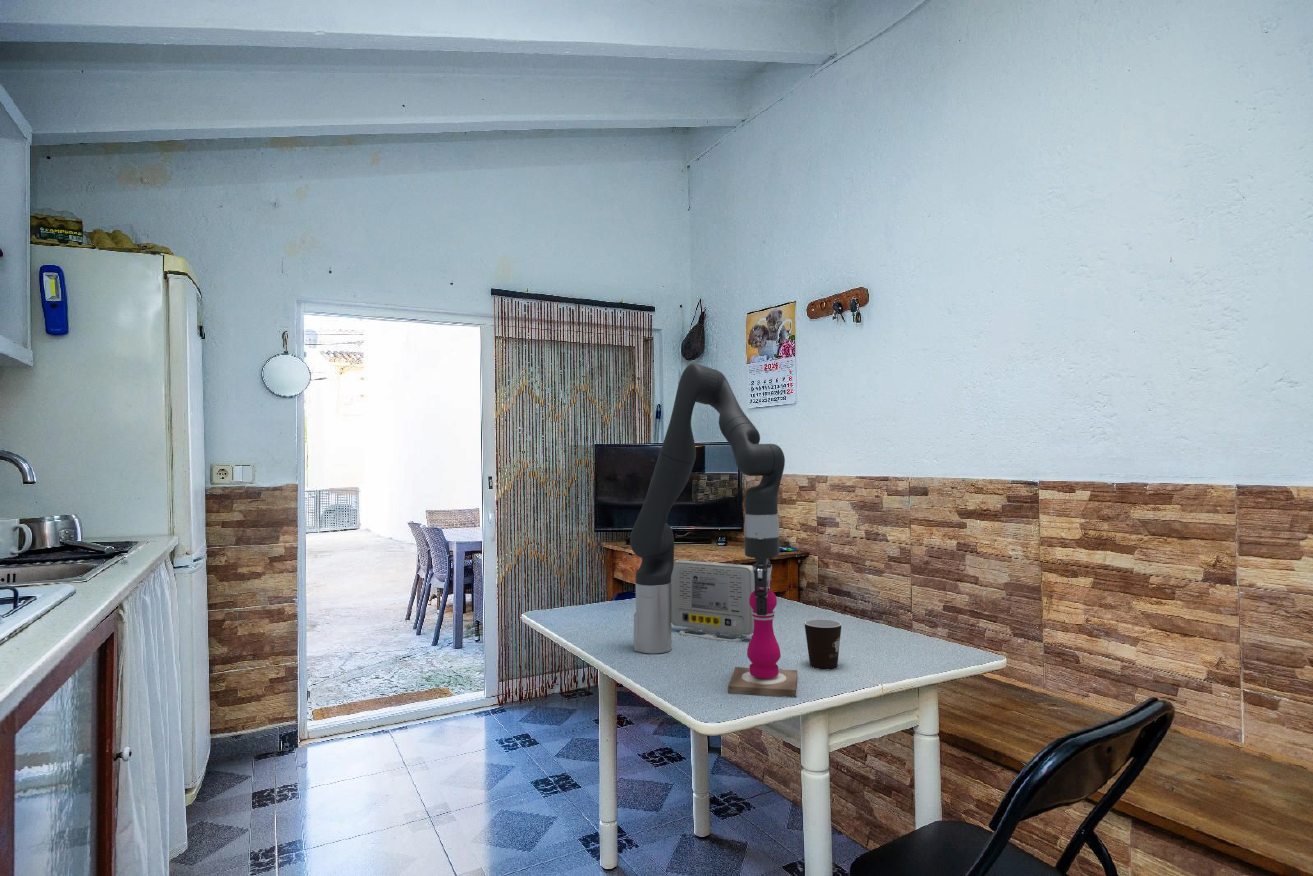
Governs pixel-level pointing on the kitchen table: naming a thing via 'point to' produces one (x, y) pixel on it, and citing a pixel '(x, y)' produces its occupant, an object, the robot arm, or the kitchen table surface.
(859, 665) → the kitchen table surface
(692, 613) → the network device
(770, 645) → the pepper mill
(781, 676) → the walnut board
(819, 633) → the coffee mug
